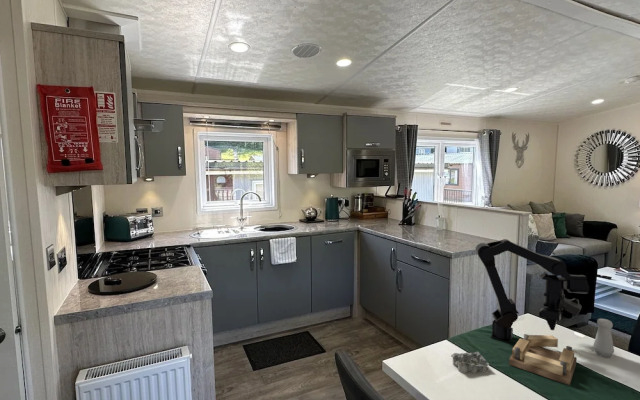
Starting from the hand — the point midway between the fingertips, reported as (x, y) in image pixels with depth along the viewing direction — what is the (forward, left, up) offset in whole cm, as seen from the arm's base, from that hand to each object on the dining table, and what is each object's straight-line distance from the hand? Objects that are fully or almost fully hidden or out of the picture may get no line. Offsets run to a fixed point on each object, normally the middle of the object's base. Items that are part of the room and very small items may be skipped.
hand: (552, 329), depth 128 cm
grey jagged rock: (-18, -38, -6) cm, 42 cm away
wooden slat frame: (0, -19, -6) cm, 20 cm away
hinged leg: (-3, -9, -3) cm, 10 cm away
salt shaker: (+15, +3, -6) cm, 17 cm away
